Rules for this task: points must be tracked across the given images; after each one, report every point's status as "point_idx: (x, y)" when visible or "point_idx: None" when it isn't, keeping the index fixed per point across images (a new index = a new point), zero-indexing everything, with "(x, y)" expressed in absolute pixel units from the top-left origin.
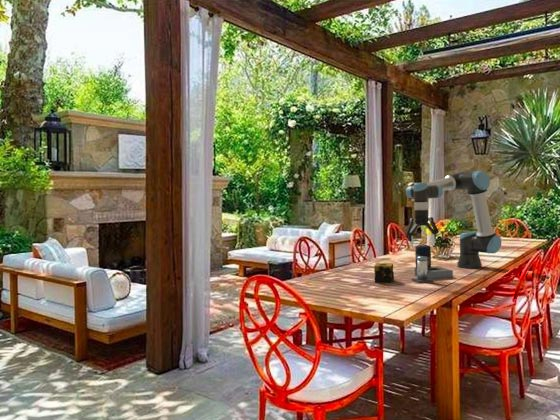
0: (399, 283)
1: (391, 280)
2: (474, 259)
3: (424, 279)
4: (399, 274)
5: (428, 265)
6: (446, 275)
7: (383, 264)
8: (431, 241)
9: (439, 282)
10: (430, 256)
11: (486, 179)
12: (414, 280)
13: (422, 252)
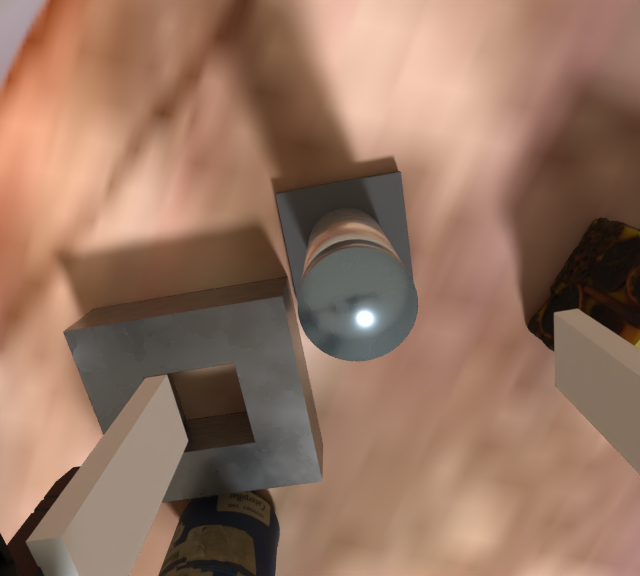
0: (547, 191)
1: (610, 221)
2: None
3: (345, 207)
4: (408, 489)
5: (196, 525)
6: (134, 308)
7: None
8: (163, 472)
9: (240, 165)
10: None
11: None
12: (408, 246)
13: None
